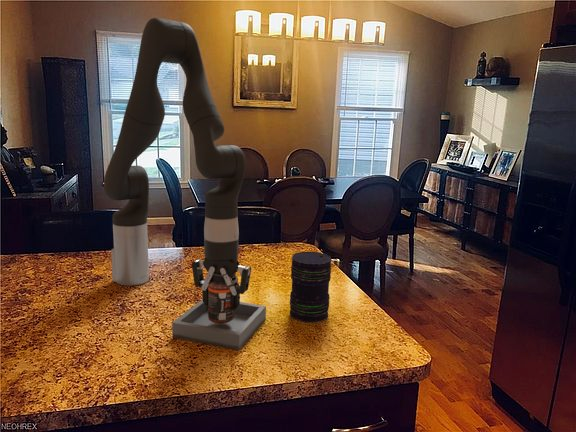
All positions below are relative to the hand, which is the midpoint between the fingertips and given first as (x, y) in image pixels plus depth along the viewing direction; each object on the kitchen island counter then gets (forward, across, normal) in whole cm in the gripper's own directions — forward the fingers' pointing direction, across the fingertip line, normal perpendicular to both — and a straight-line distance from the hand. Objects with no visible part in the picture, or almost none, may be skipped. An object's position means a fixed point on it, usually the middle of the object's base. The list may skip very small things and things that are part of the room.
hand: (221, 306), depth 107 cm
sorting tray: (+5, 0, 0) cm, 5 cm away
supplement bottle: (+3, 0, 0) cm, 3 cm away
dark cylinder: (+6, +17, +15) cm, 23 cm away
